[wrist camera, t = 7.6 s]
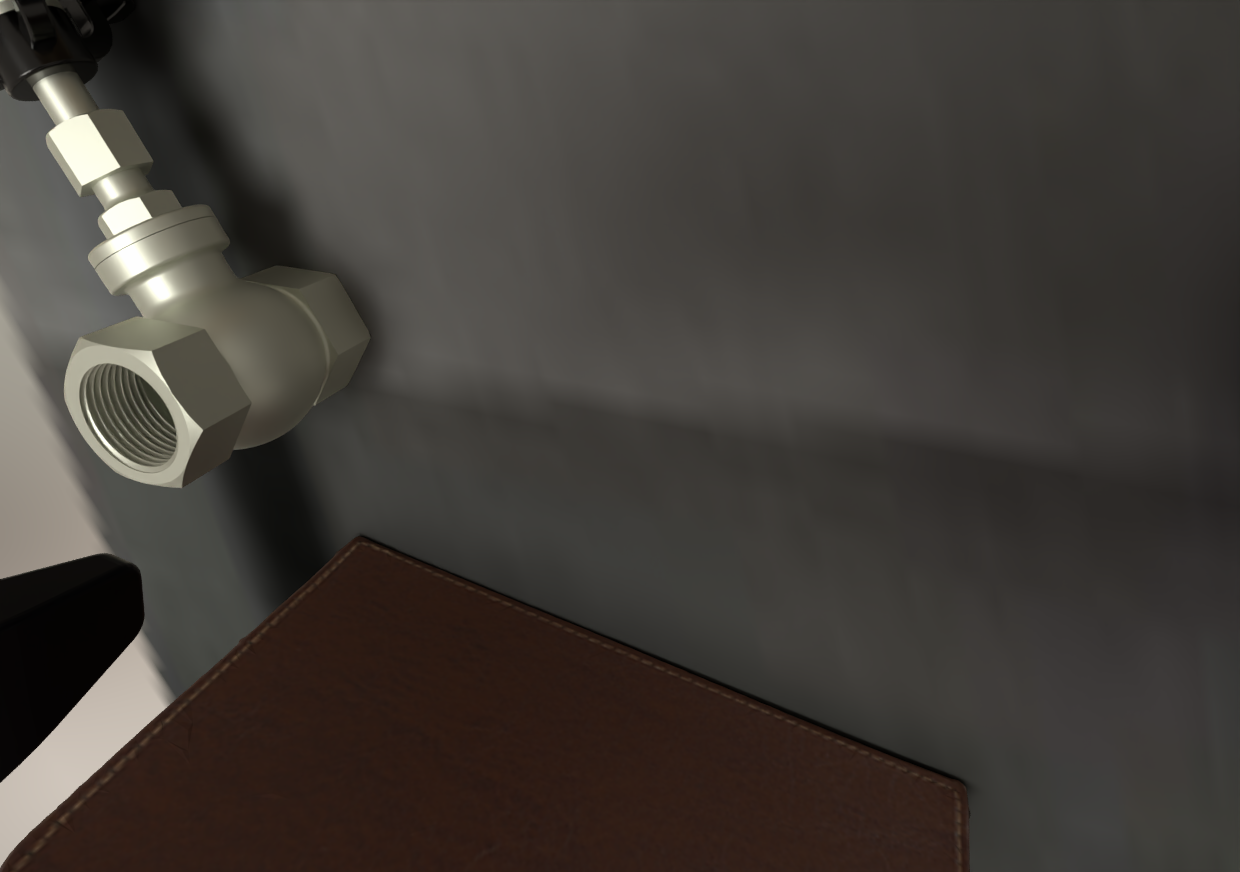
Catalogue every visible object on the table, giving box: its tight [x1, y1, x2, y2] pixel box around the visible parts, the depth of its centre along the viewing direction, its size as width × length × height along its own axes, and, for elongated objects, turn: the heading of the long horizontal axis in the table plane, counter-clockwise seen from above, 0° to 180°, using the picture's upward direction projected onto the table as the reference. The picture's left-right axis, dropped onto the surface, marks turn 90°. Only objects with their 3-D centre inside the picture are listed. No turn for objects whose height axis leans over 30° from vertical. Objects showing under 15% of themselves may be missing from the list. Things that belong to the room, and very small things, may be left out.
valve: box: [0, 0, 371, 488], centre depth 20 cm, size 7×7×12 cm
